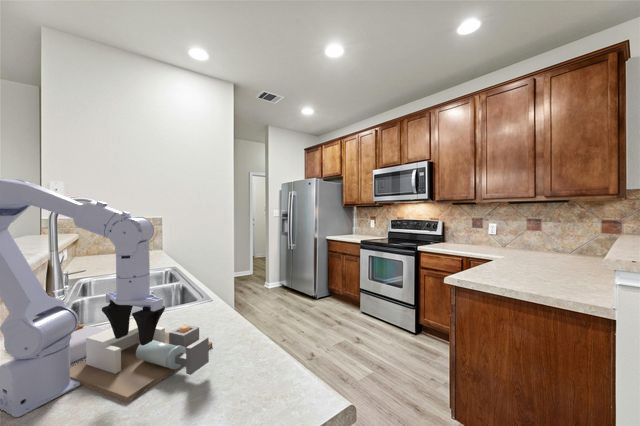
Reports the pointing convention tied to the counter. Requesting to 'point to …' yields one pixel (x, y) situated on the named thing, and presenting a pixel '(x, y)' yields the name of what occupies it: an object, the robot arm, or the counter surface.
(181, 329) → the orange rounded peg
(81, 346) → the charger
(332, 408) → the counter surface
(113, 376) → the mounting board
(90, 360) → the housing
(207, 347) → the grey and blue plunger
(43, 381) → the robot arm
